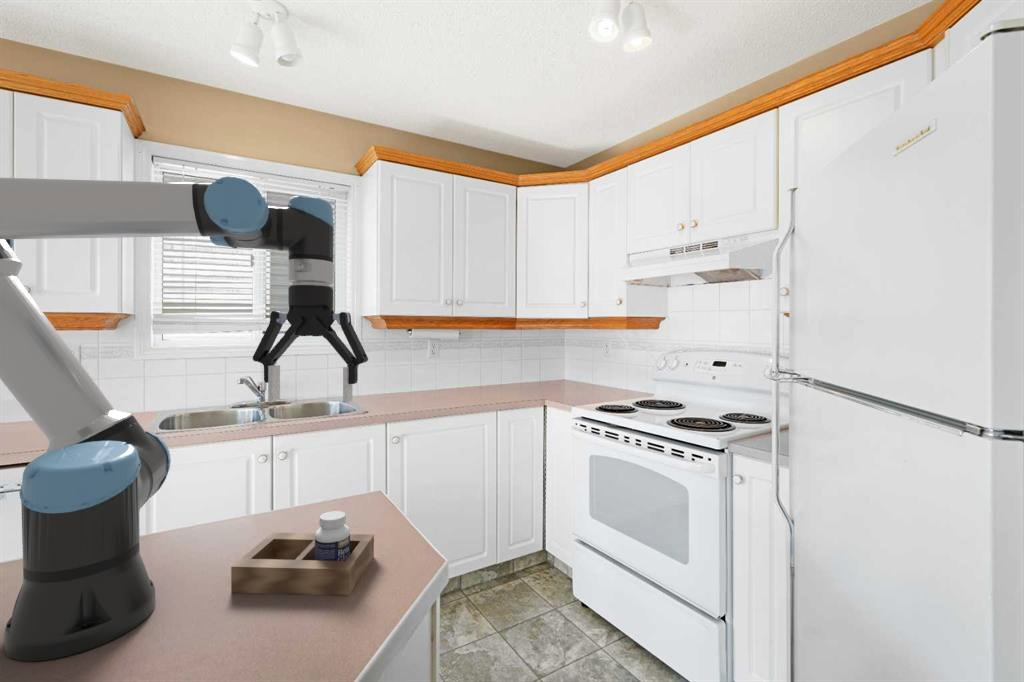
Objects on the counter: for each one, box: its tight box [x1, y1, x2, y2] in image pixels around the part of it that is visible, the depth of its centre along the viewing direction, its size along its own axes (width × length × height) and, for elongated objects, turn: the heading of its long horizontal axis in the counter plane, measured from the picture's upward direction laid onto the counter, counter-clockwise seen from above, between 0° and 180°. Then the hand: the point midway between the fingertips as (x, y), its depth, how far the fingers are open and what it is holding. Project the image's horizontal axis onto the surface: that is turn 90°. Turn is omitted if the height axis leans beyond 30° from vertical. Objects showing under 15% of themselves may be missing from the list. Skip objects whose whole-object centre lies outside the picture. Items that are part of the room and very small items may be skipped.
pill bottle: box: [314, 510, 351, 561], centre depth 78 cm, size 5×5×10 cm
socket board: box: [230, 532, 375, 597], centre depth 78 cm, size 18×12×4 cm, turn 89°
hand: (310, 401), depth 87 cm, fingers open, 13 cm apart
